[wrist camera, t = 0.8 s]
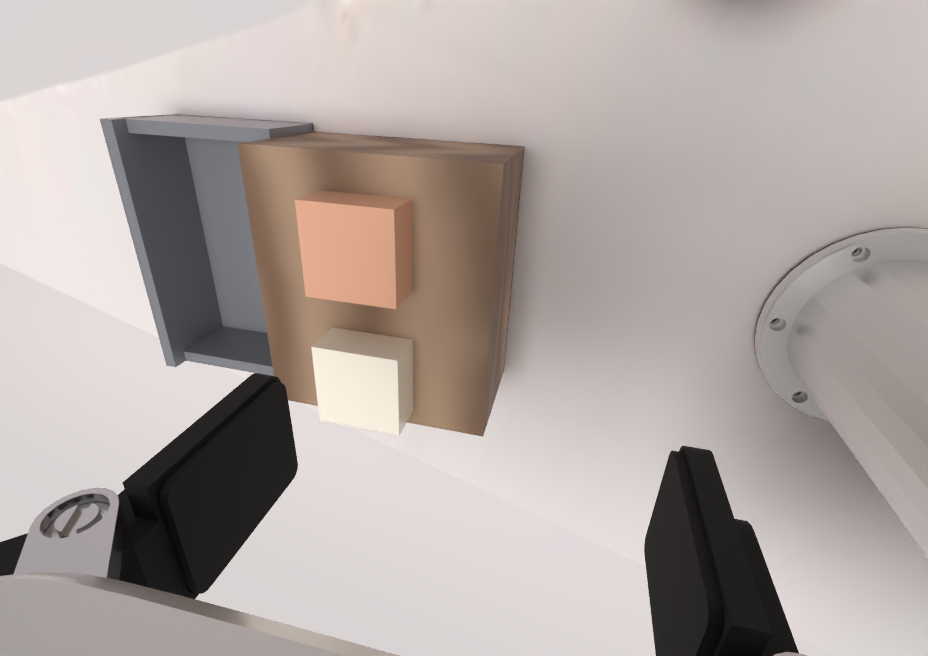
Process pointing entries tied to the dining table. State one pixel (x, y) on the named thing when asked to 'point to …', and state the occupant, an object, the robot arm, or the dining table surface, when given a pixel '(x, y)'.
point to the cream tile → (364, 379)
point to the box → (195, 232)
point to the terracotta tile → (356, 247)
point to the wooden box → (433, 260)
